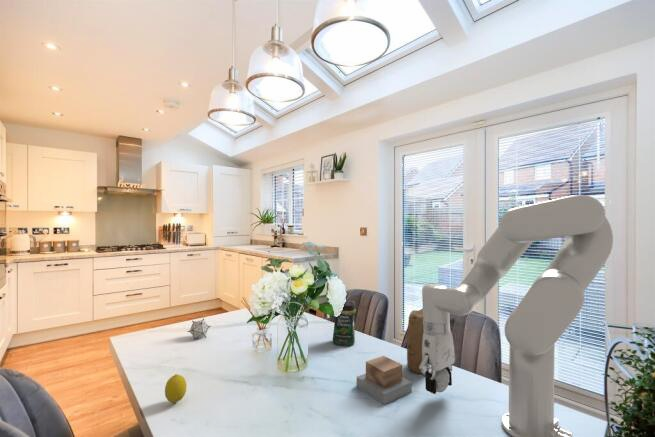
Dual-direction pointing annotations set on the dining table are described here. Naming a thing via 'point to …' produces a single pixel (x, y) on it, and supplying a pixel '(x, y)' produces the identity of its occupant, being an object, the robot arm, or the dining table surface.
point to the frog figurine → (441, 380)
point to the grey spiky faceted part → (199, 329)
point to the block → (415, 341)
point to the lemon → (175, 388)
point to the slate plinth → (381, 393)
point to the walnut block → (384, 371)
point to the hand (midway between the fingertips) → (438, 387)
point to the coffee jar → (345, 325)
